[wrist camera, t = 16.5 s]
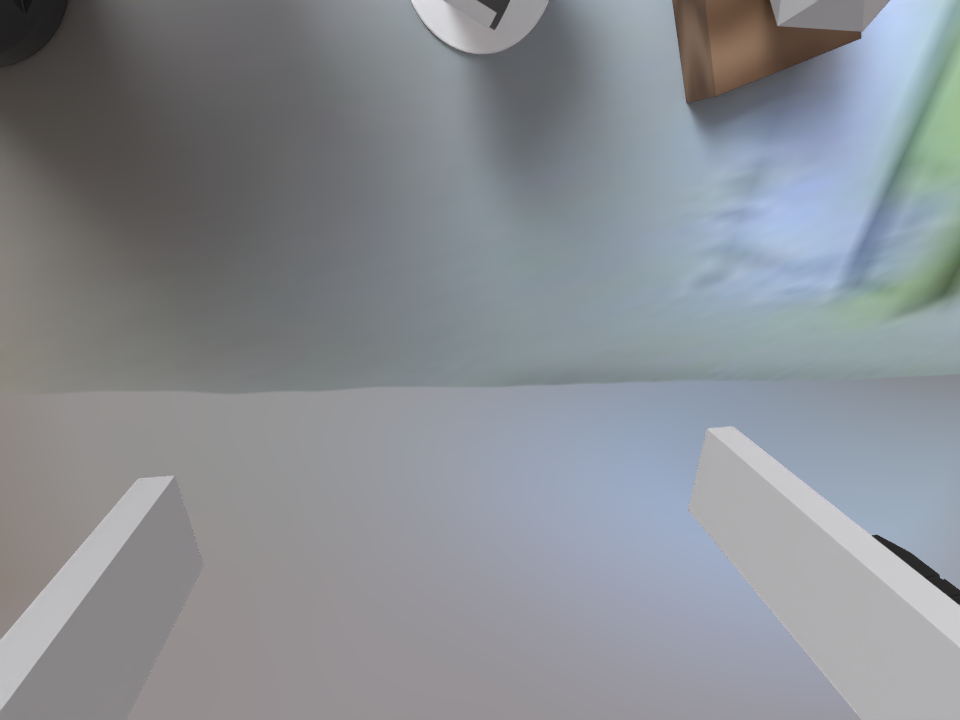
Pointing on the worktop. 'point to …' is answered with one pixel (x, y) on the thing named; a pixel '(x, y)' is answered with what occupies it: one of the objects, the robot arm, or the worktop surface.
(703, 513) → the robot arm
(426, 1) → the panda figurine
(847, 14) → the die
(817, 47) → the plinth
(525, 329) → the worktop surface
